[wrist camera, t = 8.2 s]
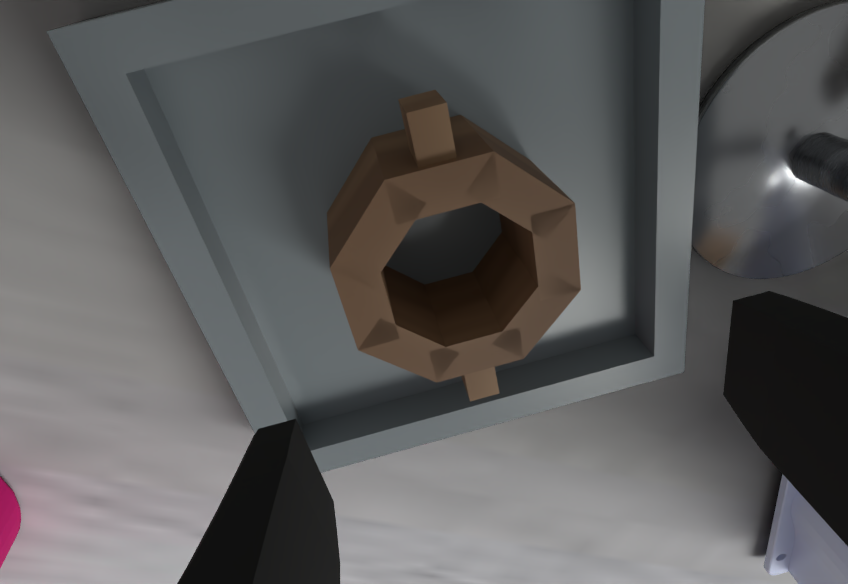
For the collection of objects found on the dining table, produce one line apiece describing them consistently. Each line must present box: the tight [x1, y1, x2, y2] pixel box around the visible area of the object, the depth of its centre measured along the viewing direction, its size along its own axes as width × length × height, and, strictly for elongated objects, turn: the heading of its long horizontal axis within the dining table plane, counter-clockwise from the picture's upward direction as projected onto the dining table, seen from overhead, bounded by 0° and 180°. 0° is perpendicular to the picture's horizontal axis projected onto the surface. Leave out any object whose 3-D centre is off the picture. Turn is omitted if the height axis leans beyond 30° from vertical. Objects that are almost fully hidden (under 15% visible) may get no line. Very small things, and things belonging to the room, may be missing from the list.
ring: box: [327, 90, 581, 401], centre depth 14 cm, size 5×8×3 cm
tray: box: [47, 0, 705, 473], centre depth 15 cm, size 13×13×2 cm
